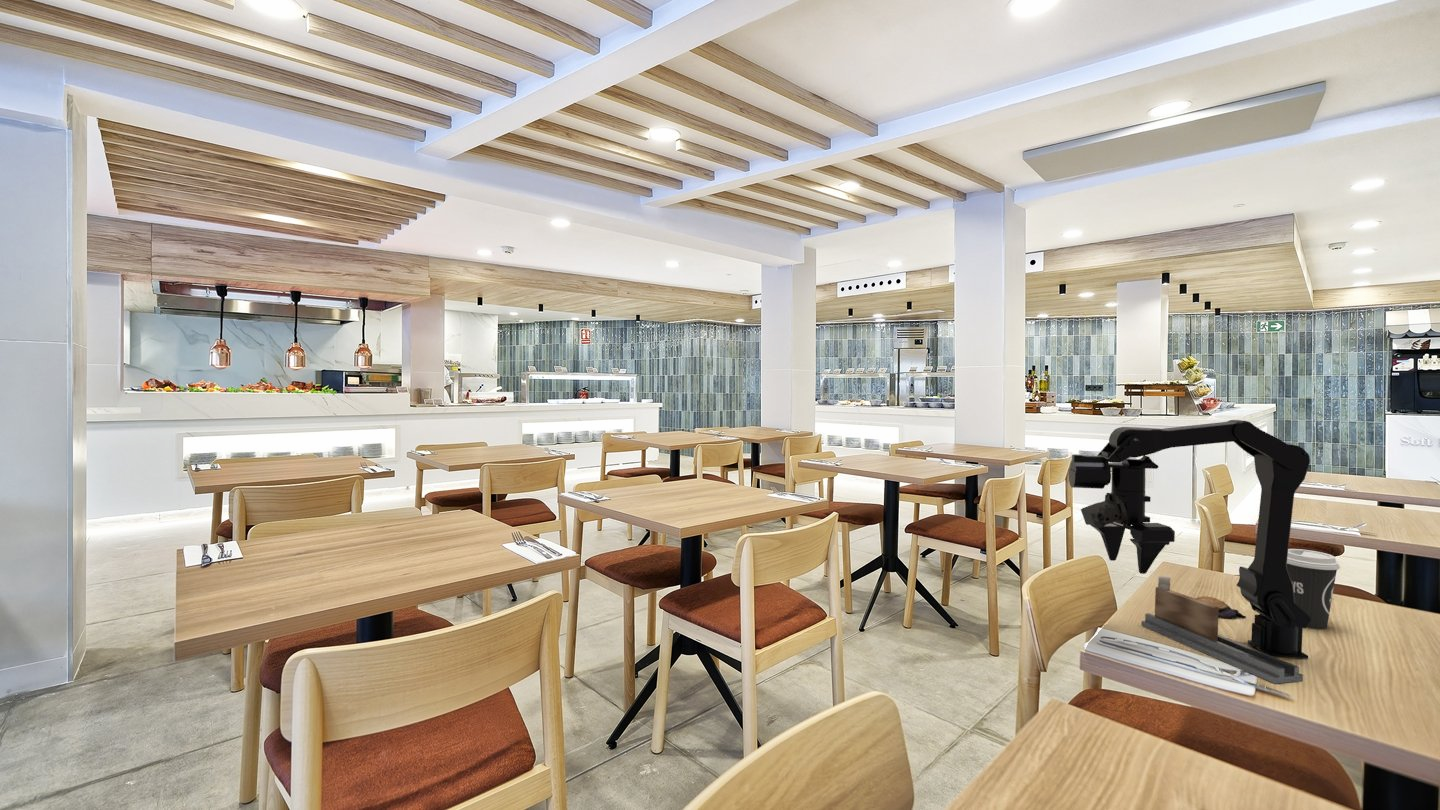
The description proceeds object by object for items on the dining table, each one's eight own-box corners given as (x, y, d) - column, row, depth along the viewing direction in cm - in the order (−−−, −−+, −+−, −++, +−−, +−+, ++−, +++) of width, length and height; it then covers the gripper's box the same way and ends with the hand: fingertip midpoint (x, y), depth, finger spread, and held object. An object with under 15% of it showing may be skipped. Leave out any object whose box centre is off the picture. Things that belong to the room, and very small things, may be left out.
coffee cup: (1294, 612, 139) (1296, 546, 139) (1348, 628, 130) (1351, 557, 130) (1265, 617, 136) (1268, 549, 136) (1319, 634, 127) (1322, 561, 127)
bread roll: (1196, 619, 136) (1196, 603, 136) (1175, 606, 145) (1175, 590, 145) (1251, 623, 135) (1252, 606, 134) (1226, 609, 143) (1227, 593, 143)
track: (1141, 625, 131) (1141, 613, 131) (1165, 623, 132) (1165, 611, 132) (1275, 683, 106) (1275, 669, 106) (1302, 680, 107) (1303, 666, 107)
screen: (1153, 620, 130) (1155, 576, 130) (1161, 619, 131) (1163, 575, 130) (1209, 644, 119) (1211, 595, 118) (1218, 643, 119) (1220, 594, 119)
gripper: (1062, 482, 135) (1061, 554, 135) (1117, 498, 116) (1116, 581, 117) (1114, 482, 135) (1113, 554, 135) (1177, 497, 116) (1176, 581, 117)
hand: (1127, 566), depth 126 cm, fingers open, 9 cm apart
